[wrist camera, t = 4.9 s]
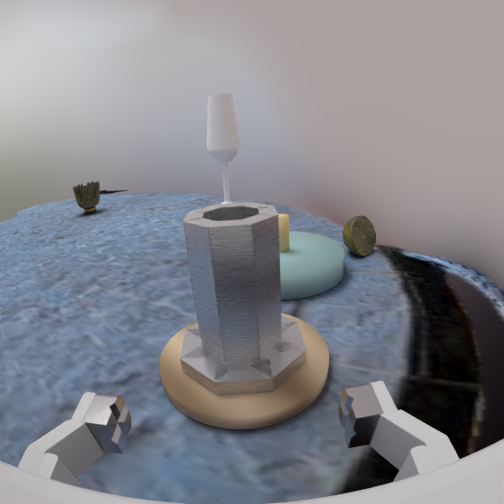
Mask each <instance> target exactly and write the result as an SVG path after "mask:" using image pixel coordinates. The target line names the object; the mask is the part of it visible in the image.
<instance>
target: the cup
mask: <svg viewBox="0 0 504 504" xmlns="http://www.w3.org/2000/svg"><path fill="white" fill-rule="evenodd" d="M73 190H74V194H75V197H76V201H77V203H78V205H79V206H80V207H81V208H84V213H85V214H91V213H94V212H96V207H95V206H96V205H97V204H98V202H99V198H100V191H99V182H98V183H97V181H96V183H95V182H91V183H87V186H83V185H82V184H81V186H80V185H77V187H76V186H75V187H73Z"/></svg>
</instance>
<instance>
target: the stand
mask: <svg viewBox="0 0 504 504" xmlns="http://www.w3.org/2000/svg"><path fill="white" fill-rule="evenodd" d="M281 315H282V316H284V317H287V318H290V319H292V320H295V321H297V322H298V325H299V328H300V331H301V335H302V338H303V341H304V344H305V348H306V363H305V364H304V365H303V366H302V367H301V368H300V369H299V370H298V371H296V372H295V373H294V374H293V375H292V376H291V377H290V378H289V379H287V380H286V381H285V382H284V383H283V384H282V385H281V386H280V387H278V388H277V389H276V390H275V391H274V392H267V393H255V394H241V395H222V396H217V395H215V394H214V393H212V392H211V391H209V390H208V389H207V388H205V387H204V386H202V385H201V384H199V383H198V382H197V381H195V380H194V379H192V378H191V377H190V376H188V375H187V374H186V373H184V372H183V370H182V366H181V362H180V354H181V349H182V345H183V340H184V336H185V331H186V329H187V328H189V327H191V326H193V325H195V324H197V323H198V321H196V322H194V323H192V324H190V325H188V326H186V327H185V328H183V329H182V330H180V331H179V332H178V333H177V334H175V335H174V336H173V337H172V338H171V339H170V341H169V342H168V343H167V344H166V346H165V348H164V349H163V351H162V354H161V356H160V362H159V371H160V376H161V379H162V382H163V386H164V389H165V391H166V393H167V396H168V397H169V399H170V400H171V402H172V403H173V404H174V405H175V406H176V407H177V408H178V409H179V410H180V411H181V412H183V413H184V414H186V415H187V416H188V417H190V418H192V419H194V420H196V421H198V422H201V423H204V424H207V425H210V426H214V427H218V428H224V429H234V430H240V429H255V428H262V427H267V426H271V425H275V424H277V423H280V422H283V421H286V420H288V419H290V418H292V417H294V416H296V415H297V414H299V413H300V412H302V411H303V410H305V409H306V408H307V407H308V406H310V405H311V404H312V403H313V402H314V401H315V400H316V398H317V397H318V396H319V395H320V393H321V392H322V390H323V388H324V386H325V383H326V380H327V376H328V368H329V350H328V347H327V344H326V342H325V340H324V338H323V337H322V336H321V335H320V333H319V332H318V331H317V330H316V329H315V328H313V327H312V326H310V325H309V324H308V323H306V322H304V321H302V320H300V319H298V318H295V317H293V316H290V315H287V314H283V313H281Z"/></svg>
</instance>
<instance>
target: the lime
mask: <svg viewBox="0 0 504 504" xmlns="http://www.w3.org/2000/svg"><path fill="white" fill-rule="evenodd" d="M375 239H376V233H375V230H374V227H373V224H372V223H371V222H370V220H368V219H367V217H365V216H356V217H353V218H352V219H351V220H349V221H348V222H347V223H346V224H345V226H344V229H343V241H344V243H345V245H346V246H347V247H348V249H349V250H351V251H352V252H353V253H355V254H356V255H359V256H366V255H368V254H370V253H371V251H372V250H373V248H374V245H375V242H376V240H375Z"/></svg>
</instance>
